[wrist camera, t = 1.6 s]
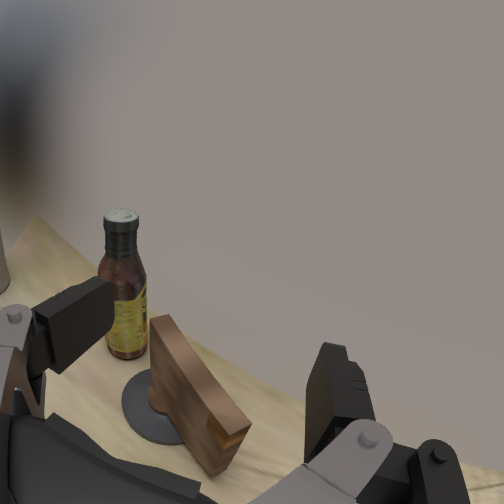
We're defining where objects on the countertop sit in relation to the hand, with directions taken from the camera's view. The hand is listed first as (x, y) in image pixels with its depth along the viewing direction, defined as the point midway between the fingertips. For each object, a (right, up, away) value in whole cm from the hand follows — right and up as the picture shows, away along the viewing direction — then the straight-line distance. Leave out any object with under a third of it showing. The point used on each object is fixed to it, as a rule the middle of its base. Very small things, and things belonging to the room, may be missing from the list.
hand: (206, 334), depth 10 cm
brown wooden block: (-6, -17, +17) cm, 24 cm away
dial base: (-9, -16, +20) cm, 27 cm away
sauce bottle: (-17, -11, +27) cm, 34 cm away
